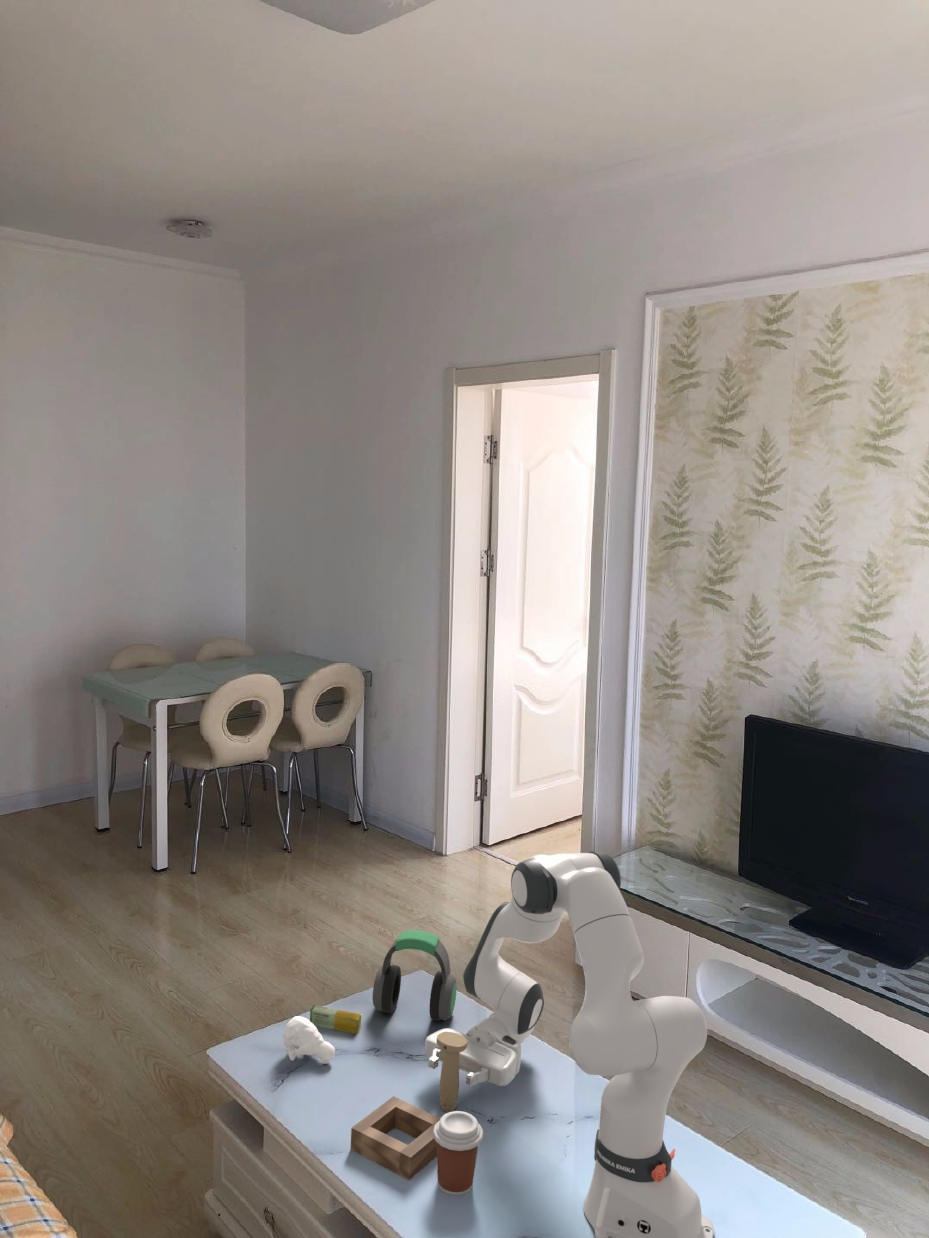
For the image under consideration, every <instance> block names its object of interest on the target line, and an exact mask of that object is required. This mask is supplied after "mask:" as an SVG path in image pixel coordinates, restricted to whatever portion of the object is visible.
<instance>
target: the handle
mask: <svg viewBox="0 0 929 1238" xmlns="http://www.w3.org/2000/svg"><path fill="white" fill-rule="evenodd" d="M467 1043H468V1040H467V1039H466V1038H465V1037H464V1036H462V1035H460V1034H457V1033H454V1032H447V1031H445V1032H441V1033H440V1034H438V1035H437V1044H438V1046H439V1047H440V1048H441V1049H442V1050H443V1060H442V1061H441V1070H440V1078H439V1099H440V1100H439V1105H440V1106H439V1107H440V1108H441V1109H442V1111H444V1112H449V1111H450V1112H451V1111H452V1112H453V1111H455V1110H456V1108H457V1105H458V1104H457V1103H458V1102H457V1101H458V1097H459V1091H460V1069H459V1055H460V1052H462V1051H464V1050H465V1049H466V1048H467Z"/></svg>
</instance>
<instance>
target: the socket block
mask: <svg viewBox="0 0 929 1238" xmlns="http://www.w3.org/2000/svg"><path fill="white" fill-rule="evenodd" d="M440 1118H441V1117H440V1116H437V1115H435V1114H432V1113H431V1112H428V1111H426V1110H424V1109H422V1108H419V1107H417V1106H416V1105H413V1104H412V1103H409V1102H406V1101H404V1100H402V1099H401V1098H399V1097H396V1096H394V1095H393V1096H392V1097H391V1098H389V1099H388V1100H386V1101H385V1102H384V1103H383V1104H381V1105H380V1106H379V1107H377V1108H376V1109H375V1110H373V1111H372V1112H370V1113H369V1114H368V1115H366V1116H365V1117H364V1118H362V1119H361V1120H360V1121H359V1122H357V1123H356V1124H355V1125H353V1126H351V1129H350V1131H351V1132H350V1133H351V1134H350V1147H349V1148H350V1149H349V1150H350V1151H352V1152H354V1153H356V1154H357V1155H360V1156H362V1157H364V1158H366V1159H368V1160H370V1161H371V1162H372V1163H374V1164H377V1165H379V1166H381V1167H382V1168H385V1169H386V1170H389V1171H391V1172H392V1173H394V1174H396V1175H398V1176H400V1177H401V1178H403V1179H406V1180H407V1181H410V1180H412V1179H413V1178H414V1177H415V1176H416V1175H417V1174H419V1173H420V1172H421V1171H422V1170H423V1169H425V1167H427V1166H428V1165H429V1164H430V1163H431V1162H432V1161H434V1159H437V1142H436V1141H435V1139H434V1136H433V1130H434V1126H435V1124H436V1123H437V1122H438V1121H439V1120H440ZM394 1129H396V1130H397V1131H400V1132H402V1133H404V1134H406V1135H408V1136H410V1137H412V1138H413V1141H411V1142H410V1143H409V1144H406V1143H404V1142H402V1141H401V1140H398V1139H397V1138H394V1137H392V1136H391V1135H389V1134H390V1133H391V1132H392V1131H393V1130H394Z"/></svg>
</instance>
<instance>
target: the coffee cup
mask: <svg viewBox="0 0 929 1238" xmlns="http://www.w3.org/2000/svg"><path fill="white" fill-rule="evenodd" d="M439 1118H440V1120H439V1121H438V1122H437V1123H436V1124H435V1126H434V1130H433V1136H434V1139H435V1141H436V1142H437V1157H436V1161H437V1162H436V1166H437V1168H436V1169H437V1171H436V1173H437V1185H438V1188H439V1189H440V1191H442V1193H445V1194H446V1195H449V1196H456V1197H457V1196H463V1195H466V1194H468V1193H469V1192H470V1191H471V1190H472V1189H473V1184H474V1175H475V1171H476V1170H475V1169H476V1162H477V1155H478V1149H479V1145H480V1144H481V1143H482V1142H483V1139H484V1138H483V1137H484V1130H483V1128H482V1125H481V1124H479V1122H478V1120H477V1118H476V1117H475V1116H474V1115H472V1114H471V1113H469V1112H466V1111H459V1110H453V1111H452V1112H449V1111H448V1112H447V1113H444V1114H443V1115H442V1116H441V1117H439Z"/></svg>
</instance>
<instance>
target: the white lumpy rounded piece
mask: <svg viewBox="0 0 929 1238" xmlns="http://www.w3.org/2000/svg"><path fill="white" fill-rule="evenodd" d="M284 1029H285V1030H284V1032H283V1034H282V1038H283V1044H284V1046H285V1048H286V1052H287V1054H288V1058H289V1060H290V1061H292V1062H294V1061H295V1059H296V1057H300V1056H304V1055H305V1056H314V1057H316V1058H318V1059H319V1061H317V1063H318V1066H320V1065H325V1064H326V1065H329V1063H330V1062H331V1061H332V1060H334V1058H335V1055H336V1049H335V1047H334V1046H333V1045H332V1044H331V1043H330V1042H328V1041H325V1039H324V1037H323V1035H322V1034H321V1033H320V1032H319V1030H318V1028H317V1026H314V1024H313V1023H311V1022H310V1019H308V1018H306V1017H304V1016H299V1015H297V1016H296V1015H295V1016H294V1017H292V1018H291V1019H290V1020H289V1021H288V1022H287V1024H286V1026H285V1028H284Z"/></svg>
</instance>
